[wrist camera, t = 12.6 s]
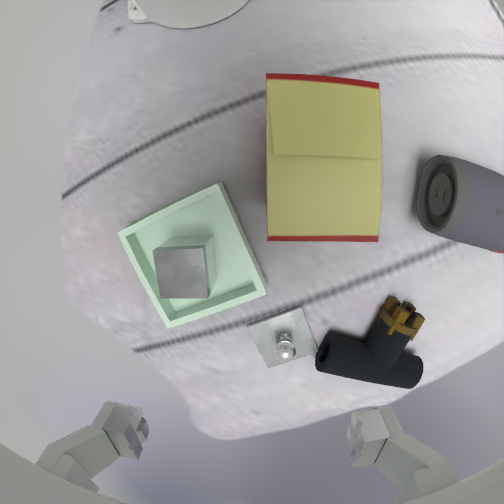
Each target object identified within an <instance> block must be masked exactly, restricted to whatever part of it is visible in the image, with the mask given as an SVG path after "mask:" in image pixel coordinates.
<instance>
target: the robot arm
mask: <svg viewBox="0 0 504 504" xmlns="http://www.w3.org/2000/svg"><path fill="white" fill-rule="evenodd" d="M247 2H248V0H127V3H128V16H129V19H130V20H131V22H133V23H148V22H153V23H157V24H160V25H163V26H166V27H171V28H195V27H201V26H205V25H209V24H212V23H215V22H218V21H220V20H222V19H224V18H226V17H228V16H230V15H232V14H233V13H235V12H236V11H238V10H239V9H240V8H242V7H243V6H244V5H245V4H246V3H247ZM136 9H137V10H136ZM143 414H144V413H143V411H142V409H141V408H139V407H133V406H129V405H125V404H121V403H115V402H112V401H107V402H105V403H104V405H103V407H102V408H101V410H100V411H99V413H98V415H97V416H96V418H95V420H94V421H93V423H92V424H91V426H86V427H84V428H82V429H80V430H78V431H76V432H74V433H72V434H70V435H68V436H66V437H64V438H62V439H60V440H57V441H56V442H54V443H51V444H49V445H48V446H47V447H46V449H45V450H44V452H43V453H42V455H41V457H40V458H39V460H38V461H37V463H36V464H34V463H32V462H30V461H28V460H27V459H25V458H23V457H21V456H20V455H18V454H17V453H15V452H13V451H12V450H10V449H8V448H7V447H6V446H4V445H3V444H1V443H0V504H129V503H126V502H123V501H120V500H116V499H113V498H110V497H107V496H105V495H101V494H99V493H98V490H99V488H98V486H97V485H96V484H95V482H94V481H93V480H92V478H93V477H94V476H95V475H97V474H98V473H100V472H101V471H102V470H104V469H105V468H107V467H108V466H109V465H111V464H112V463H113V462H114V461H116V460H117V459H118V458H120V456H122V457H127V458H131V459H136V460H139V457H140V455H141V452H142V450H143V447H142V445H141V444H142V443H143V442H145V441H146V440H147V437H148V433H149V427H148V423H147V421H146V420H145V419H144V418H143V417H142V416H143ZM351 421H352V423H351V424H349V426H348V429H347V441H348V446H349V447H350V448H352V449H353V450H352V452H351V458H352V463H353V467H359V466H366V465H372V464H374V465H375V466H376V467H377V468H378V469H379V470H380V471H381V472H382V473H384V475H386V476H387V477H388V478H389V479H390V480H391V481H392V482H393V483H395V484H396V485H397V486H398V487H399V488H400V489H401V490H400V492H399V493H398V494H397V495H396V496H395V498H394V499H393V500H392V503H393V504H504V458H503V459H502V460H500V461H498V462H497V463H495V464H493V465H491V466H490V467H488V468H486V469H484V470H482V471H480V472H478V473H476V474H474V475H473V476H470V477H468V478H466V479H464V480H462V481H460V482H459V481H458V479H457V477H456V474H455V472H454V470H453V468H452V466H451V464H450V462H449V459H447V458H446V457H444V456H442V455H441V454H439V453H437V452H435V451H434V450H432V449H431V448H429V447H427V446H426V445H424V444H422V443H420V442H419V441H417V440H416V439H414V438H413V437H411V436H409V435H408V434H403V432H402V430H401V427H400V425H399V423H398V420H397V418H396V416H395V414H394V411H393V409H392V407H391V406H386V407H380V408H373V409H368V410H361V411H355V412H353V413H352V416H351Z"/></svg>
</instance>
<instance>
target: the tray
mask: <svg viewBox="0 0 504 504" xmlns="http://www.w3.org/2000/svg"><path fill="white" fill-rule="evenodd" d="M117 234H118V236H119V238H120V240H121V242H122V245H123V247H124V249H125V251H126V253H127V255H128V257H129V259H130V261H131V263H132V265H133V267H134V269H135V271H136V273H137V275H138V277H139V278H140V280H141V282H142V284H143V286H144V288H145V290H146V292H147V293H148V295H149V297H150V299H151V301H152V302H153V304H154V306H155V308H156V310H157V311H158V313H159V315H160V317H161V318H162V320H163V322H164V323H165V325H166V327H167V328H168V329H169V328H172V327H175V326H178V325H181V324H184V323H187V322H190V321H193V320H196V319H199V318H202V317H205V316H208V315H210V314H213V313H216V312H219V311H222V310H225V309H228V308H230V307H233V306H236V305H239V304H242V303H244V302H247V301H250V300H253V299H255V298H258V297H261V296H263V295H266V294H267V283H266V281H265V278H264V276H263V274H262V272H261V269H260V267H259V265H258V263H257V260H256V258H255V256H254V253H253V251H252V249H251V247H250V244H249V242H248V240H247V238H246V235H245V233H244V231H243V229H242V226H241V224H240V222H239V220H238V217H237V215H236V213H235V210H234V208H233V206H232V204H231V201H230V199H229V197H228V195H227V192H226V190H225V188H224V186H223V183H222V182H220V183H217V184H214V185H212V186H210V187H208V188H206V189H203V190H201V191H199V192H197V193H195V194H193V195H191V196H189V197H186V198H184V199H182V200H180V201H178V202H176V203H174V204H172V205H170V206H168V207H166V208H164V209H162V210H160V211H158V212H156V213H154V214H152V215H150V216H148V217H146V218H144V219H143V220H141V221H139V222H137V223H135V224H133V225H131V226H129V227H127V228H126V229H124V230H122V231H120V232H118V233H117ZM204 235H213V237H214V248H215V259H216V269H217V280H216V282H215V284H214V287H213V289H212V291H211V293H210V296H209V298H191V299H160V293H159V288H158V282H157V276H156V270H155V263H154V257H153V250H154V249H155V248H157V247H158V246H159V245H161V244H162V243H163V242H165V241H166V240H168V239H169V238H170V237H185V236H204Z"/></svg>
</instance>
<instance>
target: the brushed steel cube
mask: <svg viewBox="0 0 504 504" xmlns="http://www.w3.org/2000/svg"><path fill="white" fill-rule="evenodd" d="M153 257H154V263H155V270H156V276H157V282H158V288H159V293H160V299H191V298H209V296H210V293H211V291H212V289H213V287H214V284H215V282H216V280H217V269H216V259H215V248H214V237H213V235H204V236H185V237H170V238H169V239H168V240H166V241H165V242H163V243H162V244H161V245H159V246H158V247H157V248H155V249H154V250H153Z"/></svg>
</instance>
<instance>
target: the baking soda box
mask: <svg viewBox="0 0 504 504" xmlns="http://www.w3.org/2000/svg"><path fill="white" fill-rule="evenodd" d="M266 170H267V241H349V242H378V237H379V224H380V209H381V188H382V126H381V105H380V91H379V83H376V82H370V81H363V80H356V79H348V78H340V77H330V76H319V75H303V74H266Z"/></svg>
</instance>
